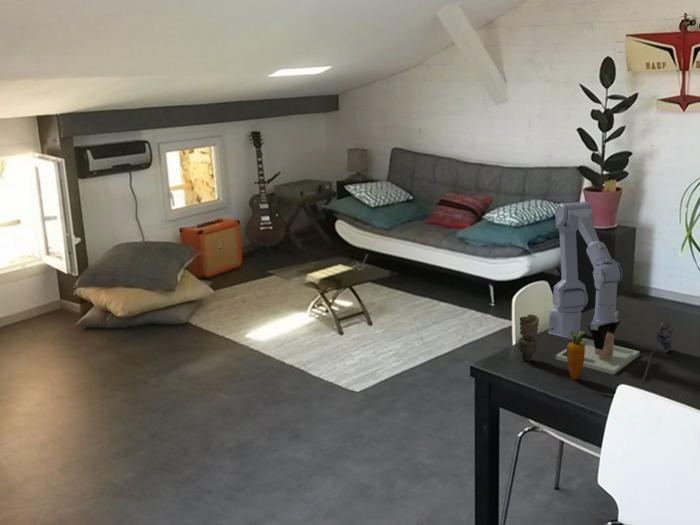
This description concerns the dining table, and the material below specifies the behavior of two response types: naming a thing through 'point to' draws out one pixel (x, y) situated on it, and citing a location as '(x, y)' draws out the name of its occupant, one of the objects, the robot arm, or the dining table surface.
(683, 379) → the dining table surface
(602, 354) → the tan cylinder
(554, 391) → the dining table surface
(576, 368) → the carrot
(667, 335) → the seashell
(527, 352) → the brown carved statue
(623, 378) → the dining table surface
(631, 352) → the tray
